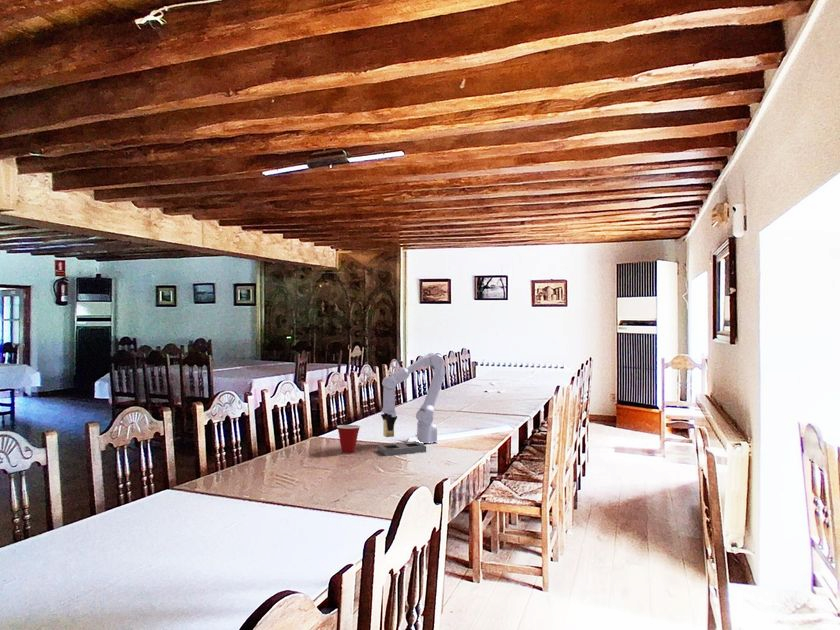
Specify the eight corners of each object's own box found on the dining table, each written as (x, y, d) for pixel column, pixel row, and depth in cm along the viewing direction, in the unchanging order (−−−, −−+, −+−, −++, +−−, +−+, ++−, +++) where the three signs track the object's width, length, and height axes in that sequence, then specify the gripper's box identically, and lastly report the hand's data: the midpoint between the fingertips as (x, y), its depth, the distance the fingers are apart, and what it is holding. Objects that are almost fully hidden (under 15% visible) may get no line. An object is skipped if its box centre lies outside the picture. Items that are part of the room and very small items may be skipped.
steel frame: (417, 447, 256) (417, 441, 256) (426, 451, 247) (426, 446, 247) (377, 450, 248) (377, 445, 248) (384, 455, 239) (384, 450, 239)
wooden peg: (391, 434, 264) (391, 418, 264) (394, 436, 260) (394, 419, 260) (383, 435, 262) (383, 419, 262) (386, 437, 258) (386, 420, 258)
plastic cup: (362, 449, 251) (362, 423, 251) (357, 455, 240) (357, 428, 240) (339, 448, 252) (339, 422, 252) (333, 454, 241) (333, 427, 241)
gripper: (376, 399, 266) (376, 427, 266) (386, 404, 253) (386, 433, 253) (389, 399, 269) (389, 426, 269) (400, 403, 256) (400, 432, 255)
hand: (388, 429), depth 261 cm, fingers closed on wooden peg, 4 cm apart
